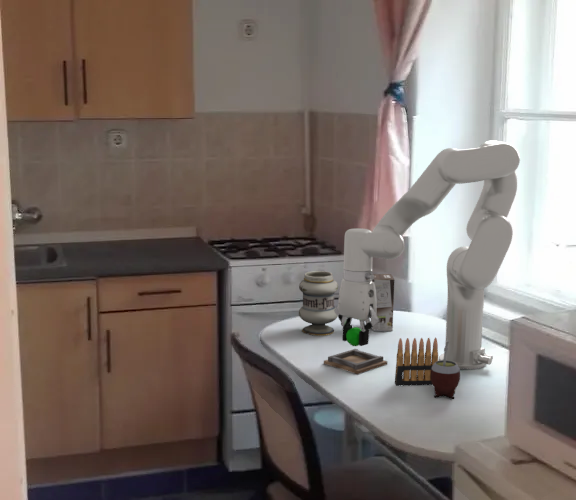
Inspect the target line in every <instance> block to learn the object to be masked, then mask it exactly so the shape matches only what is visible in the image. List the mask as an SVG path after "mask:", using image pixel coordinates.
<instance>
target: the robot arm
mask: <svg viewBox="0 0 576 500" xmlns="http://www.w3.org/2000/svg"><path fill="white" fill-rule="evenodd" d="M520 161H521V157H520V153H519V151H518V149H517V148H516V147H515V146H514V145H512V144H510V143H508V142H504V141H498V140H486V141H484V142H483V143H481V144H480V145H479V146H478V147H474V148H473V147H472V148H466V149H465V148H463V149H458V148H453V147H452V148H451V147H448V148H445V149H442V150H441V151H439V152H438V153H437V154H436V156H435V157H434V158H433V159H432V161H431V162H430V164H429V165H428V166H427V167H426V168H425V170H424V171H423V172H422V173H421V174H420V176H418V178H417V180H416V181H415V182H414V183H413V185H412V186H411V187H410V188H409V189H408V190H407V191H406V192H405V193H404V194H403V195H402V196H400V198H399V199H398V200H397V201H396V202H395V203H394V204H393V205H392V206H391V207H390V208H389V209H388V210H387V211H386V212H385V214H384V215H383V217H382V218H381V219H380V220H379V221H378V223H377V224H376V225H375V226H374V228H373V229H372V230H370V229H369V228H360V227H359V228H350V229H347V230H346V231H345V233H344V245H343V273H342V274H343V275H342V276H343V277H342V279H341V282H340V287H339V293H338V304H337V306H335V307H336V309H335V310H334V312H335V313H336V315H337V316H338V317H337V318H338V320H339V321H340V325H341V327H342V341H343V342H347V338H346V334H347V332H348V330H350V329H352V328H353V324H352V321H353V319H354V320H357V321H359V325H360V329H361V331H359V345H358V346H359V347H363V346H366V345H369V338H370V337H369V336H370V331H371V329H372V327H373V326H374V325H375V324H377V323H378V322H379V319H378V317H377V315H376V314H377V301H376V290H375V284H374V282H372V280H373V279H374V275H372V274H373V260H374V259H373V258H377V259H384V260H394V259H396V258H399V257H400V256H401V255H402V254H403V253H404V250H405V245H406V244H405V241H404V238H403V235H405V233H406V232H407V231H408V229H410V227H411V226H412V225H413V224H414V223H416V222H417V221H418V220H419V219H421V218H423V217H426V216H428V215H430V214H432V213H433V212H434V211H435V210H436V209H437V208H438V207H439V205H441V204H442V202H443V200H444V199H446V197H447V196H448V194H450V192H451V190H452V189H454V187H455V186H456V185H457V184H459V185H461V184H469V183H476V182H477V183H478V182H482V181H483V186H482V188H481V189H482V190H481V192H480V195H479V198H478V199H477V202H476V204H475V207H474V209H473V211H472V213H471V215H470V217H469V219H468V221H467V224H466V228H465V229H466V234H467V236H468V238H469V239H470V241H471V242H470V244H469V246H464V245H463V246H460V247H457V248H455V249H454V250H453V251H452V252H451V253H450V254H449V256H448V259H447V263H446V279H447V282H446V283H447V299H446V300H447V301H446V303H447V305H446V320H445V341H444V344H445V345H446V342H449V343H448V347H447V348H448V350H447V355H446V361H452V362H455V363H456V364H457V365H458V367H459V369H460V370H477V369H482V368H484V367H486V366H487V365H491V364H493V363H492V362H493V357H494V356H493V355H490V354H486V350H485V349H486V348H485V347H482V343H483V342H482V339H483V321H484V306H485V305H484V304H485V289H486V288H488V287H489V286H490V285H491V284H492V283H493V281H494V280H495V278H496V277H497V274H498V272H499V270H500V268H501V266H502V264H503V261H504V260H505V258H506V255H507V252H508V251H509V248H510V246H511V243H512V240H513V227H512V223H511V222H510V221H509V220H508V216H509V213H510V211H511V208H512V205H513V203H514V201H515V197H516V195H517V194H516V193H517V190H518V178H517V177H518V175H517V172H516V171H517V169H518V168H519V165H520ZM441 360H444V353H441V354H440V355H438V361H441Z"/></svg>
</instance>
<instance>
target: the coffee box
mask: <svg viewBox="0 0 576 500" xmlns="http://www.w3.org/2000/svg"><path fill="white" fill-rule="evenodd" d="M372 275H374V279H373V280H372V282H374V284H375V290H376V301H377V314H376V315H377V317H378V319H379V322H378V323H377V324H375V325H374V326H373V327H372V328H371V329H372V331H377V332H379V331H381V332H382V331H383V332H384V331H386V332H392V331H393V328H394V327H393V325H394V302H395V301H394V300H395V278H394V276H393V275H392V273H380V274H379V273H378V274H377V273H375V274H374V273H372Z"/></svg>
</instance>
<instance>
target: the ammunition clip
mask: <svg viewBox="0 0 576 500" xmlns="http://www.w3.org/2000/svg"><path fill="white" fill-rule="evenodd" d="M418 344H419V345H418ZM418 344H417V338H416V337H414V338H413V340H412V345H410V339H409V338H408V337H407V338H406V340H405V343H404V344H403V340H402V337H400V338H399V340H398V344H397V352H396V365H395V374H394V375H395V376H394V384H395V386H399V385H400V386H399V387H401V385H403V386H404V385H408V386H410V385H411V386H433V385H432V382H431V378H430V374H431V369H432V366H433V364H434V363H435V362H437V361H439V351H438V350H439V349H438V348H439V346H438V339H437V337H434V339H433V342H432V344H431V339H430V337H427V340H426V344H425V343H424V339H423V337H421V338H420V340H419V343H418ZM403 345H404V346H403ZM424 345H425V346H424ZM403 347H404V349H403ZM431 349H432V350H431ZM403 350H404V351H403ZM411 386H410V387H411Z"/></svg>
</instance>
